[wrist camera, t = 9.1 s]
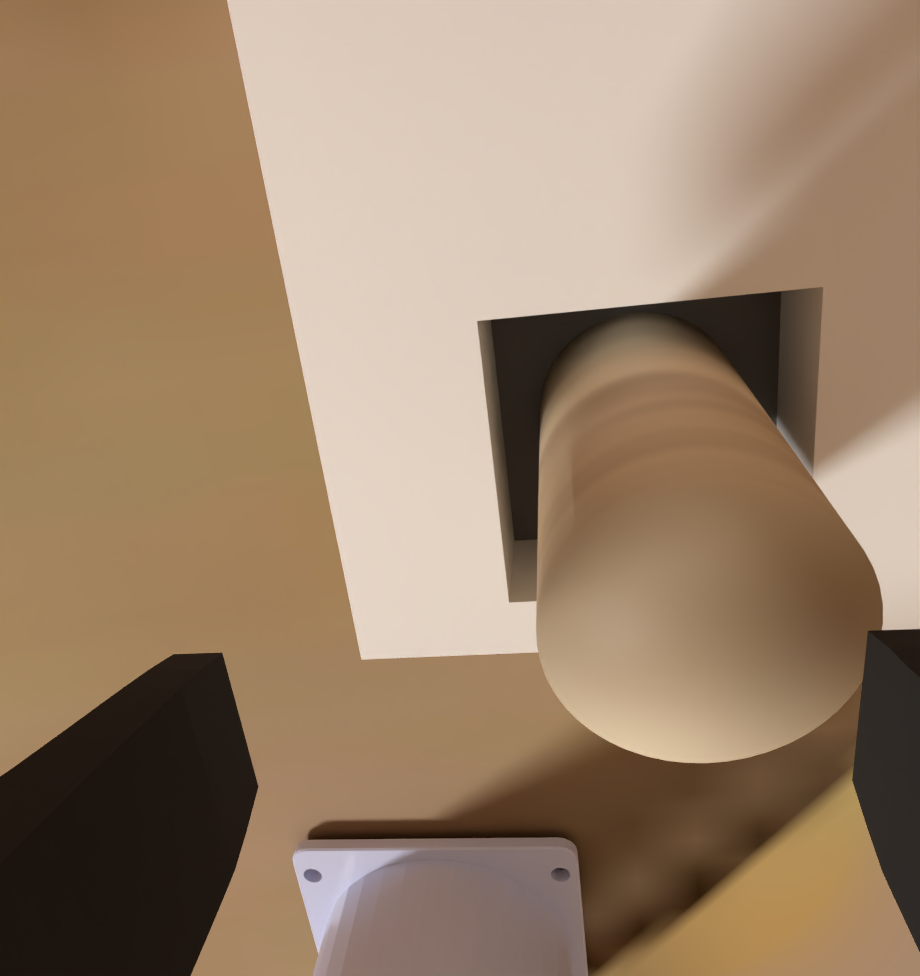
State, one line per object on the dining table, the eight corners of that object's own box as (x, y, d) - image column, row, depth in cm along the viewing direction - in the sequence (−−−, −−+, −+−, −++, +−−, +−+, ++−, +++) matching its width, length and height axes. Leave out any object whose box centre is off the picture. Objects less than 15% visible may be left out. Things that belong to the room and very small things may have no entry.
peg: (737, 488, 18) (871, 757, 10) (548, 503, 18) (551, 768, 11) (738, 301, 16) (896, 465, 9) (531, 324, 17) (519, 496, 9)
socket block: (942, 554, 18) (1230, 881, 10) (367, 586, 20) (251, 882, 12) (1094, -635, 11) (2373, -2392, 3) (175, -416, 13) (-395, -1213, 5)
